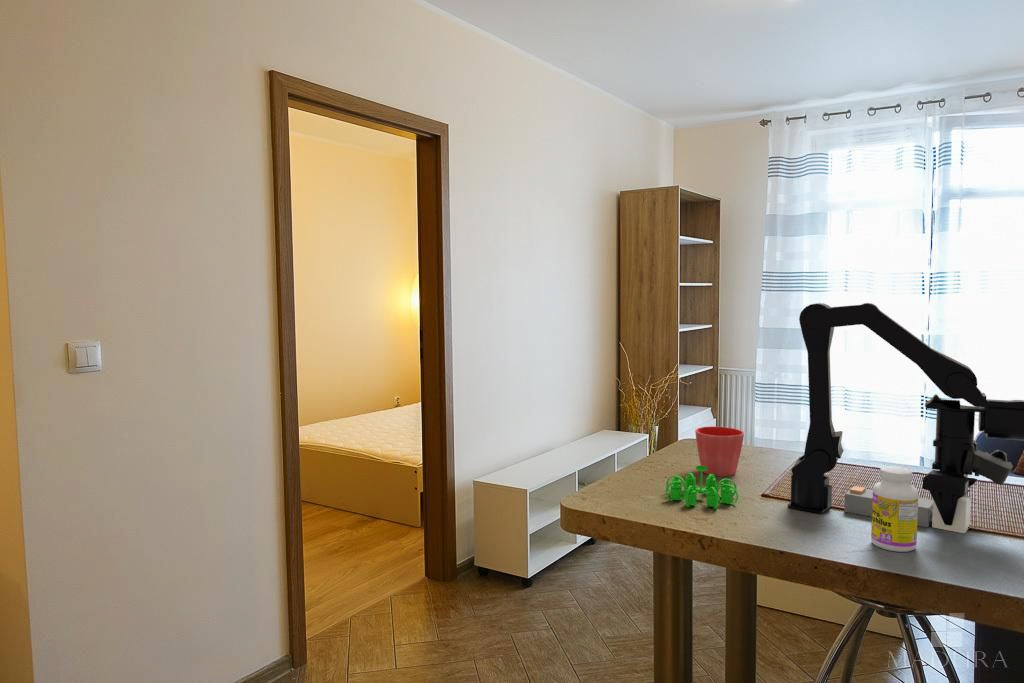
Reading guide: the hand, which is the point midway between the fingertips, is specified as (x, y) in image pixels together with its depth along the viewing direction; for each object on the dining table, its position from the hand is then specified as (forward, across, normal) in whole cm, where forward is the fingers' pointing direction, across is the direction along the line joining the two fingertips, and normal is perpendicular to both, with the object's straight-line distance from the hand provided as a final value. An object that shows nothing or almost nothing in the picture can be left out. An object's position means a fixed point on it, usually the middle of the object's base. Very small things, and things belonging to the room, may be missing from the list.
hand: (950, 521), depth 126 cm
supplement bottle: (+1, -17, +6) cm, 18 cm away
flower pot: (+1, +10, +48) cm, 49 cm away
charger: (+1, 0, +1) cm, 2 cm away
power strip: (+1, 0, +10) cm, 10 cm away
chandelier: (+2, -13, +42) cm, 44 cm away
